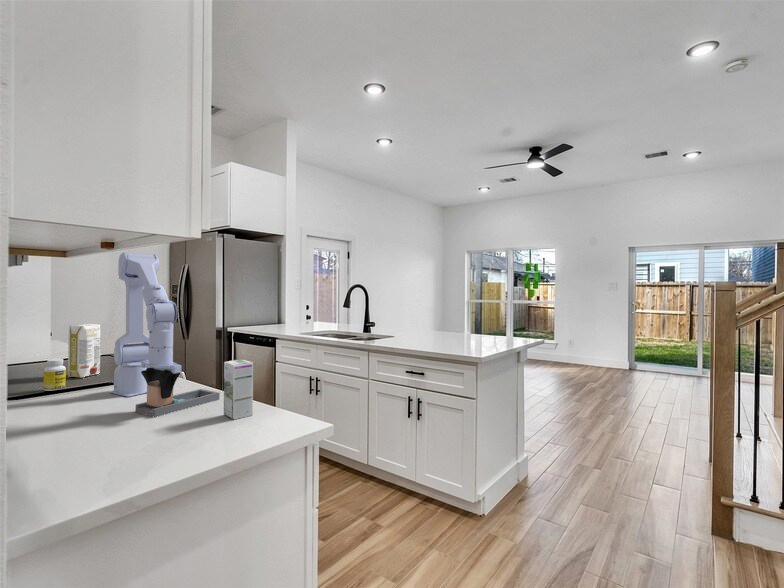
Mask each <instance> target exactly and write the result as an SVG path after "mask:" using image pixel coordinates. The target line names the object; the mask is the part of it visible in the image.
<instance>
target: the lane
mask: <svg viewBox="0 0 784 588" xmlns="http://www.w3.org/2000/svg"><path fill="white" fill-rule="evenodd" d="M199 396H201V397H199ZM220 396H221V395H220V392H219V391H213V390H210V389H209V390H208V389H202V388H200V389H193V390H191V391H187V392H182V393H179V394H178V393H177V394H175V395H174V394H173V399H178V400H179V399H185V400H186V401H182V402H178V403H174V404H170V405H166V406H161V407H160V406H159V407H157V408H156V407H155V406H151V405H147V401H145V402H141V403H136V404H135V413H137V412H138V414H141V413H142V415H145V414H146V416H149V415H150V416H149V417H152V416H154V417H153V418H158V417H160V416H164V414H165V415H168V413H169V414H172V413H175V412H174V411H176V412H178V410H179V411H182V410H181V409H183V410H185V408H186V409H189V408H188V407H190V408H193V407H192V406H194V407H197V406H200V405H199V404H201V405H204V404H208V403H211V402H215V401H218V400H220ZM195 397H196V398H195ZM191 398H192V399H191ZM187 399H188V400H187ZM210 401H211V402H210ZM207 402H208V403H207ZM203 403H204V404H203ZM196 405H197V406H196ZM152 408H154V409H152ZM171 412H172V413H171ZM157 416H158V417H157Z"/></svg>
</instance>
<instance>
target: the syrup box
mask: <svg viewBox="0 0 784 588" xmlns="http://www.w3.org/2000/svg"><path fill="white" fill-rule="evenodd" d="M223 415H224V416H226V417H227V418H229V419H231V420H233V419H234V420H239V419H238V418H240V419H243V417H244V418H247V417H253V415H254V363H253V361H248V360H245V359H234V360H229V361H224V362H223Z"/></svg>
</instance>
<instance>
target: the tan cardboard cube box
mask: <svg viewBox="0 0 784 588" xmlns="http://www.w3.org/2000/svg"><path fill="white" fill-rule="evenodd" d="M173 395H174V389H173V390H172V394H171V397H169V398H165V399H163V398H162V397H161V388H160V382H159V380H158V381H153V382H149V385H147V393H146V402H147V405H151V406H155V407H157V408H159V406H161V407H163V405H167V404H171V403H173Z"/></svg>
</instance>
